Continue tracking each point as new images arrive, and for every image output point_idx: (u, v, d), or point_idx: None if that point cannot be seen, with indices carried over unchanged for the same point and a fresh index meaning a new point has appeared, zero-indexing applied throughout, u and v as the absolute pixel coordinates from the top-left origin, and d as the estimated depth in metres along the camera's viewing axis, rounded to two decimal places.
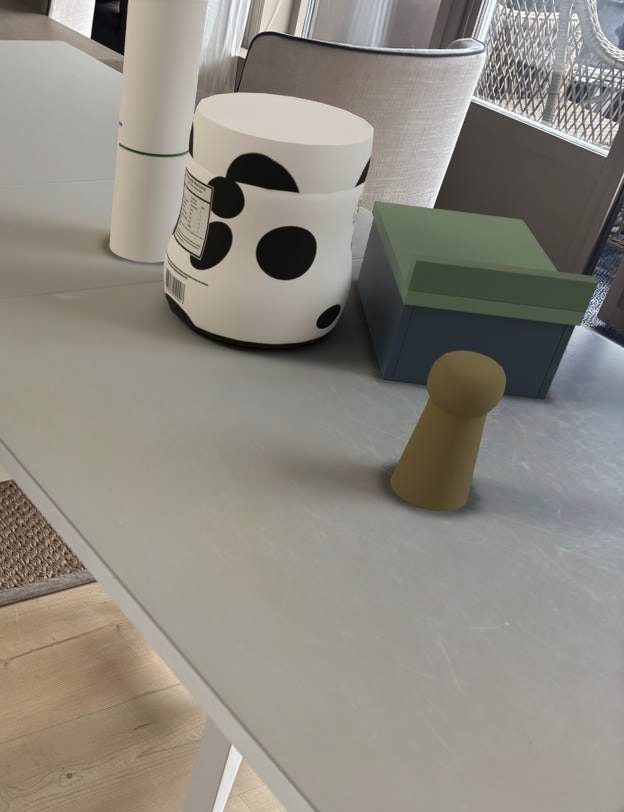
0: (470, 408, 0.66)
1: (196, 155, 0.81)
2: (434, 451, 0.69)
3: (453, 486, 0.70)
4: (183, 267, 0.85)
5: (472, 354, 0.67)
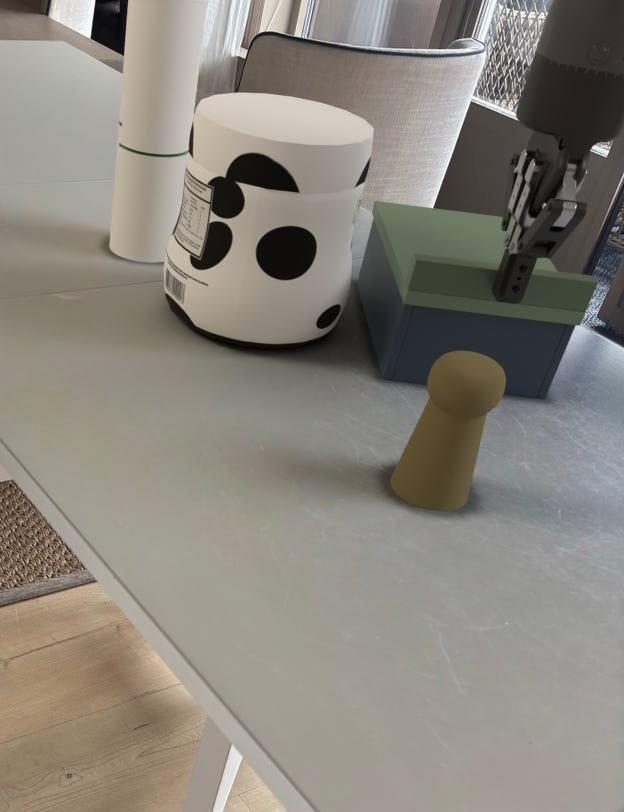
0: (470, 408, 0.66)
1: (196, 155, 0.81)
2: (434, 451, 0.69)
3: (453, 486, 0.70)
4: (183, 267, 0.85)
5: (472, 354, 0.67)
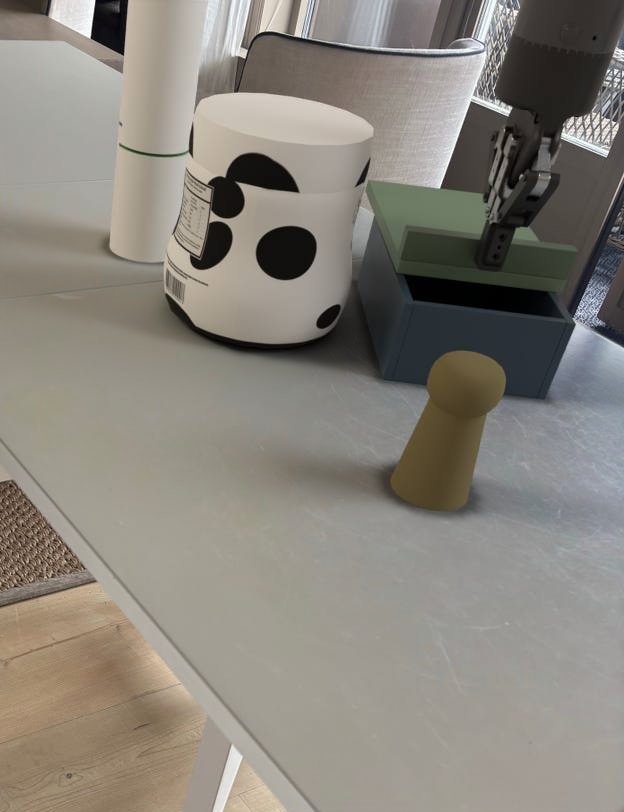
0: (470, 408, 0.66)
1: (196, 155, 0.81)
2: (434, 451, 0.69)
3: (453, 486, 0.70)
4: (183, 267, 0.85)
5: (472, 354, 0.67)
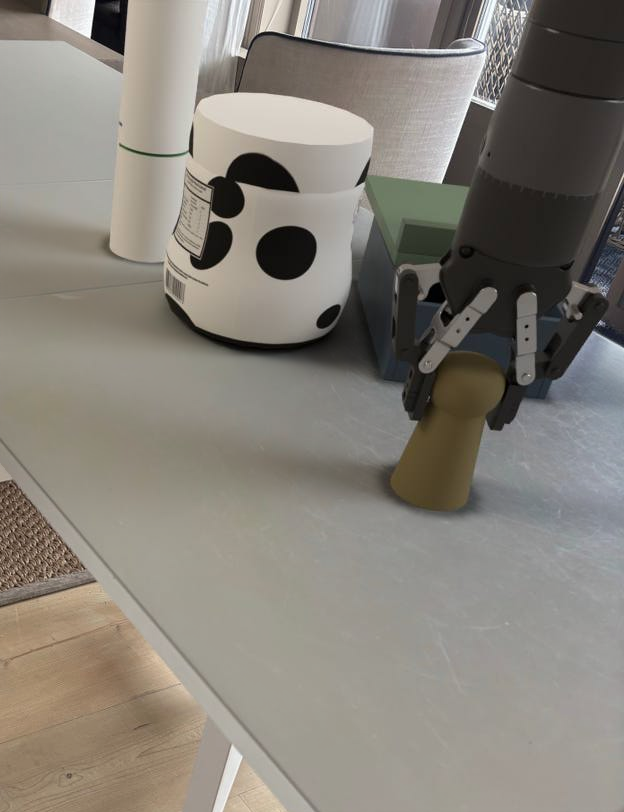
0: (470, 408, 0.66)
1: (196, 155, 0.81)
2: (434, 451, 0.69)
3: (453, 486, 0.70)
4: (183, 267, 0.85)
5: (472, 354, 0.67)
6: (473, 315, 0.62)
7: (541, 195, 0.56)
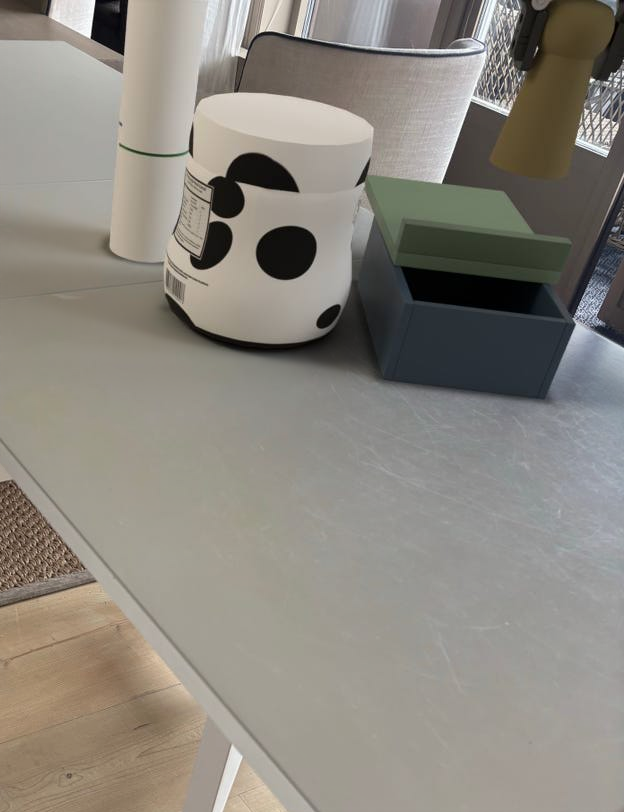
0: (582, 44, 0.68)
1: (196, 155, 0.81)
2: (542, 101, 0.70)
3: (559, 141, 0.72)
4: (183, 267, 0.85)
5: None
6: None
7: None
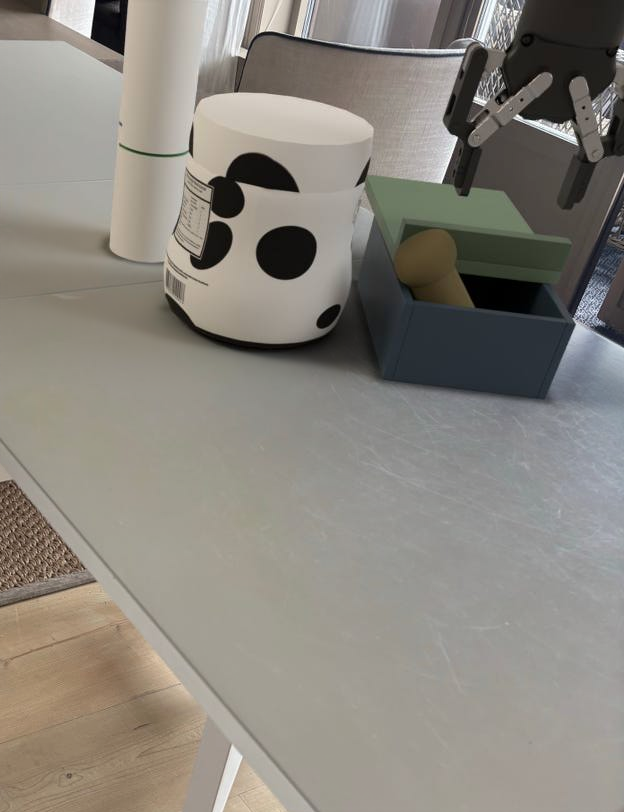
0: (431, 275, 0.81)
1: (196, 155, 0.81)
2: None
3: None
4: (183, 267, 0.85)
5: (417, 235, 0.83)
6: (531, 100, 0.73)
7: None
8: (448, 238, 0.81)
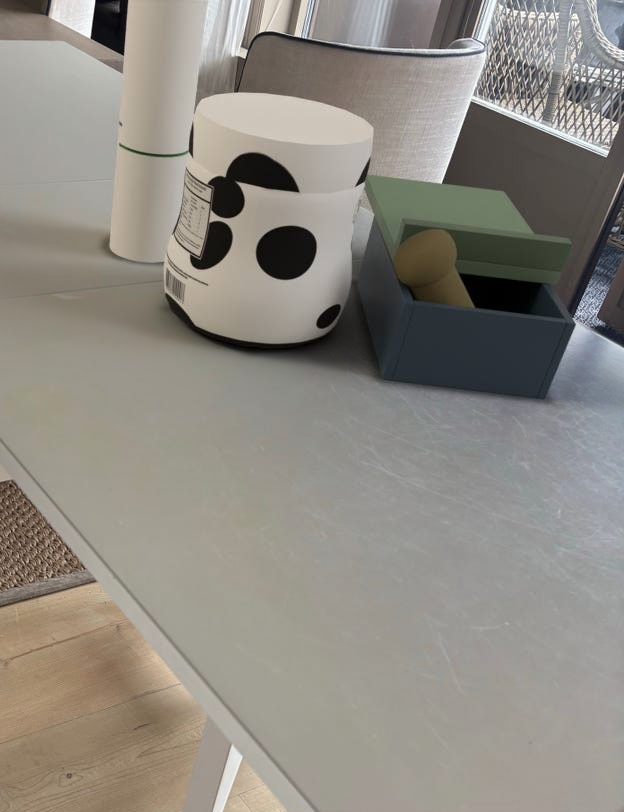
0: (431, 275, 0.81)
1: (196, 155, 0.81)
2: None
3: None
4: (183, 267, 0.85)
5: (417, 235, 0.83)
6: None
7: None
8: (448, 238, 0.81)
